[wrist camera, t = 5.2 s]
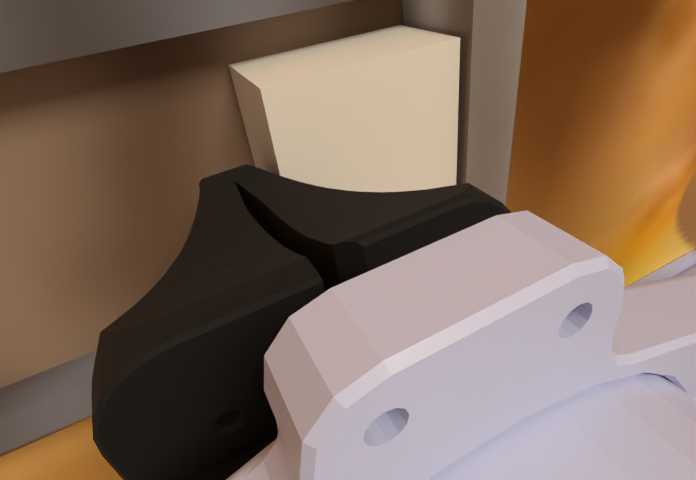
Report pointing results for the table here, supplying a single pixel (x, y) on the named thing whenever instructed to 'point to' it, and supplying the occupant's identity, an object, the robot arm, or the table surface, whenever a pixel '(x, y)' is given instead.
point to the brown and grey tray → (164, 154)
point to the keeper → (356, 111)
